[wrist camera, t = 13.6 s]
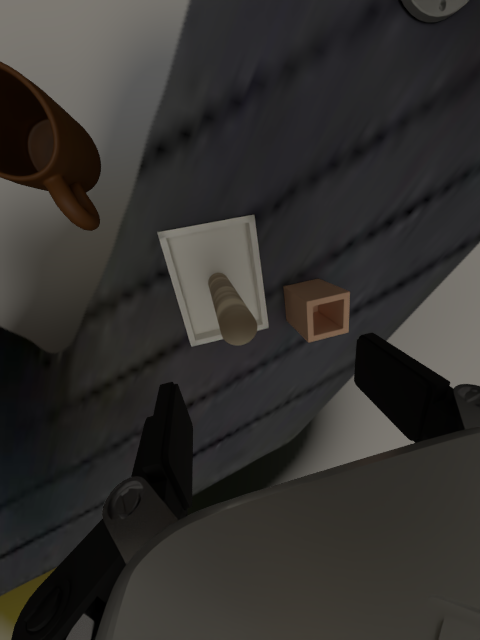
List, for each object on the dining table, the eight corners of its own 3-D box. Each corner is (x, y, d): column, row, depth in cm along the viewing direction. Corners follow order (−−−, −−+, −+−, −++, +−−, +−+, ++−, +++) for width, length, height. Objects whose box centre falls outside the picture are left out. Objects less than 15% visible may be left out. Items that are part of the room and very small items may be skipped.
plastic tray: (160, 231, 30) (157, 232, 27) (248, 215, 31) (254, 214, 28) (191, 337, 36) (191, 346, 33) (263, 320, 37) (268, 327, 35)
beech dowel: (206, 275, 32) (217, 316, 17) (226, 270, 32) (254, 307, 18) (210, 295, 33) (224, 349, 19) (230, 290, 33) (259, 340, 19)
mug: (141, 213, 28) (120, 208, 20) (89, 243, 29) (46, 251, 20) (68, 99, 23) (-3, 26, 15) (5, 136, 24) (-101, 85, 15)
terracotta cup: (283, 286, 36) (306, 301, 29) (318, 278, 36) (349, 291, 29) (286, 320, 38) (308, 342, 31) (319, 312, 39) (348, 332, 32)
